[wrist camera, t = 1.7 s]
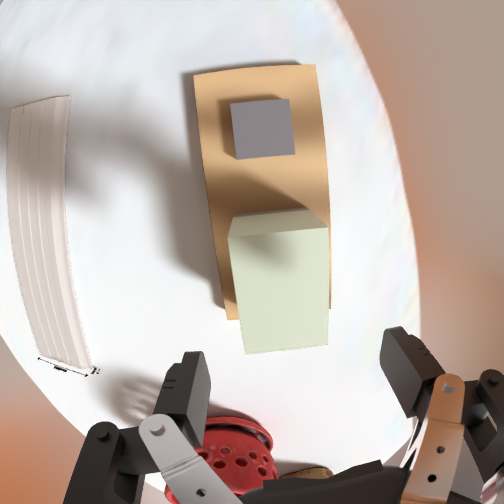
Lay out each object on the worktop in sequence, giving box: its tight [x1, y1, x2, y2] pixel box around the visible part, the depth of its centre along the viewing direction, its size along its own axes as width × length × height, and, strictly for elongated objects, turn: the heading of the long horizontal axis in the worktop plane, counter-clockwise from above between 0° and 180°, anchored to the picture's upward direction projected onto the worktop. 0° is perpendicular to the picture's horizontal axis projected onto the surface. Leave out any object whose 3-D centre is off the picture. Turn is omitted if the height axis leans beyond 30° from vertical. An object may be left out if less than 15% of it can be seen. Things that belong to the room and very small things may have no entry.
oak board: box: [193, 65, 331, 320], centre depth 21 cm, size 20×9×2 cm, turn 6°
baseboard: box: [7, 95, 100, 377], centre depth 22 cm, size 30×3×10 cm
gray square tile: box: [230, 99, 295, 160], centre depth 18 cm, size 4×4×1 cm
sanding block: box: [228, 207, 329, 354], centre depth 19 cm, size 8×6×6 cm
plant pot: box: [164, 417, 278, 504], centre depth 26 cm, size 13×13×12 cm
